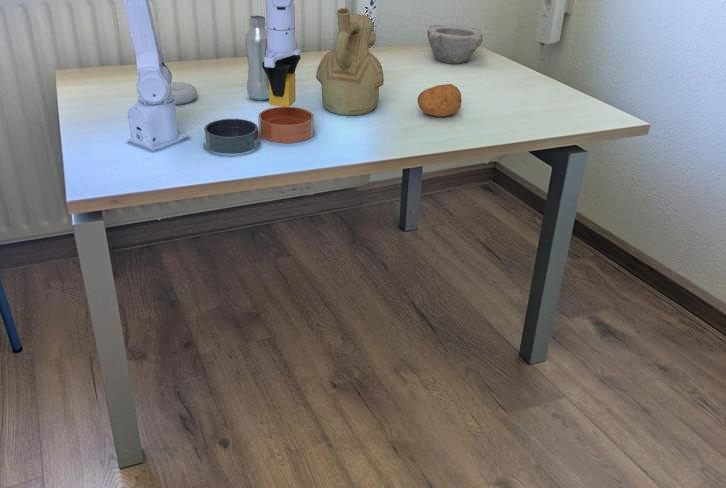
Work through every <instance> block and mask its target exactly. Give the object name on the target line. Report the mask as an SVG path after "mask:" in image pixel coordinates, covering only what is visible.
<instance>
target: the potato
mask: <svg viewBox="0 0 726 488" xmlns="http://www.w3.org/2000/svg"><path fill="white" fill-rule="evenodd" d="M416 101H417V105H418V107H419V109H420V110H421V111H422V112H423V113H425V114H426V115H429V116H432V117H440V118H443V117H448V116H451V115H454V114H456V113H457V112H458V111H459V110H460V109H461V107H462V94H461V91H460V89H459V88H458V87H457V86H456V85H454V84H452V83H447V84H437V85H435V86H432V87H429V88H426V89H424V90H423V91H421V92H420V93H419V94H418V96H417V100H416Z"/></svg>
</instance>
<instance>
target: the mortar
mask: <svg viewBox="0 0 726 488" xmlns="http://www.w3.org/2000/svg"><path fill="white" fill-rule="evenodd" d="M426 34H427V39H428V43H429V46H430V49H431V51H432V53H433V55H434V57H435V59H436V60H437V61H439V62H441V63H446V64H452V65H455V64H457V65H458V64H463V63H465V62H467V61H468V60H469V59H470V58H471V57H472V56H473V54H474V53H475V52H476V51H477V49H478V48H479V47H480V46H481V45H482V43H483V41H484V40H483V39H484V38H483V32H482V31H481V30H480V29H479V28H477V27H466V26H460V25H441V24H432V25H429V26H428V28H427V33H426Z"/></svg>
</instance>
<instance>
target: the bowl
mask: <svg viewBox="0 0 726 488" xmlns="http://www.w3.org/2000/svg"><path fill="white" fill-rule="evenodd" d="M257 119H258V136H259V137H260V138H262V139H263V140H265V141H267V142H271V143H276V144H296V143H302V142H305V141H307V140H310V139H311V138H312V137H314V135H315V133H314V132H315V115H314V114H313V112H312V111H309V110H308V109H305V108H302V107H296V106H290V107H281V106H275V107H270V108H267V109H264V110H262V111H260V112H259V113H258V116H257Z"/></svg>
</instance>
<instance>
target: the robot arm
mask: <svg viewBox="0 0 726 488" xmlns="http://www.w3.org/2000/svg"><path fill="white" fill-rule="evenodd" d="M294 2H295V0H266V4H265V11H266V12H265V13H266V14H265V15H266V16H265V19H266V30H267V49H266V56H265V57H264V62H262V68H263V69H264V71H265V72H266V74H267V76H268V79H269V82H270V85H271V89H272V93H273V96H280V97H283V95H284V91H285V81H286V76H287V73H290V74H295V75H296V70H297V67H298V65H299V63H300V60H301V54H302V53H301V51H302V50H301V49H298V41H296V9H295V8H296V6H295V3H294ZM122 4H123V8H124V13H125V17H126V21H127V25H128V29H129V32H130V37H131V41H132V46H133V49H134V53H135V61H136V62H135V63H136V64H135V65H136V72H137V82H136V85H135V86H136V87H135V88H136V92H137V95H138V97H137V99H138V100H137V102H136V103H135V104H134V105H132V106H130V107H129V108H128V111H127V120H128V126H129V134H130V138H129V139H128V142H129V143H135V144H137V145H140V146H143V147H146V148H148V149H151V150H157V149H159V148H162V147H165V146H168V145H170V144H173V143H175V142H177V141H181V140H183V139H185V138H188V135H187V134H184V133H181V132H179V129H178V117H177V109H176V104H175V99H174V95H173V94H172V93H171V91H170V90H169V86H170V83H171V82H173V81H172V80H173V74H172V71H171V69H170V68H169V67H168V65H167V64H166V62H165V60H164V56H163V53H162V52H161V49H160V45H159V40H158V36H157V31H156V26H155V23H154V18H153V13H152V8H151V4H150V0H122Z"/></svg>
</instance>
